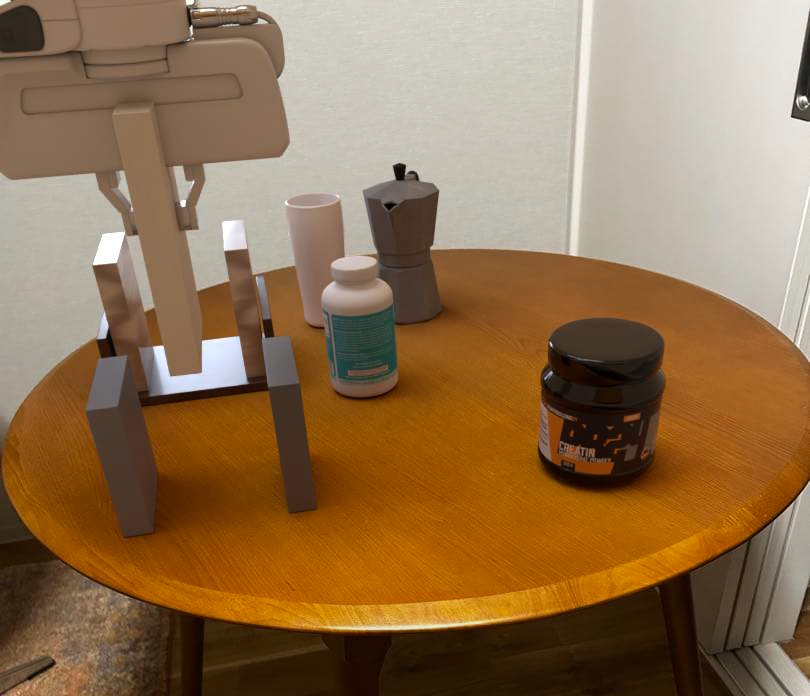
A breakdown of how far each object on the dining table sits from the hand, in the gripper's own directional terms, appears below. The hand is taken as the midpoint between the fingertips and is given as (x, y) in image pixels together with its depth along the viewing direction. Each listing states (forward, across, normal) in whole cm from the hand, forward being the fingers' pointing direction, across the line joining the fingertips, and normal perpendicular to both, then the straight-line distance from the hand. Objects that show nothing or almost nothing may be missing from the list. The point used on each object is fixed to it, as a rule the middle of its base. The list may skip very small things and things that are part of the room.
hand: (163, 231), depth 63 cm
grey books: (+23, 0, 0) cm, 23 cm away
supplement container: (+23, -34, +4) cm, 42 cm away
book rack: (+23, +2, -27) cm, 36 cm away
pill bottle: (+23, -16, -18) cm, 34 cm away
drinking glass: (+23, -14, -38) cm, 47 cm away
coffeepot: (+23, -25, -39) cm, 52 cm away
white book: (+9, 0, 0) cm, 9 cm away
